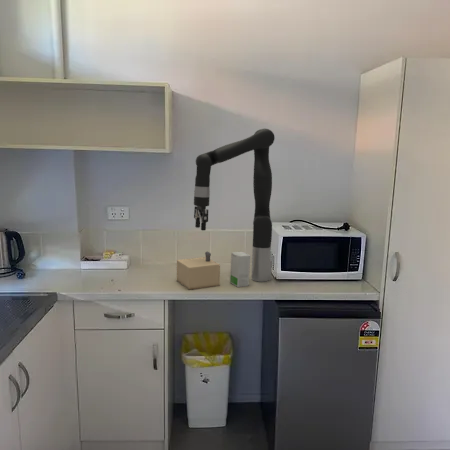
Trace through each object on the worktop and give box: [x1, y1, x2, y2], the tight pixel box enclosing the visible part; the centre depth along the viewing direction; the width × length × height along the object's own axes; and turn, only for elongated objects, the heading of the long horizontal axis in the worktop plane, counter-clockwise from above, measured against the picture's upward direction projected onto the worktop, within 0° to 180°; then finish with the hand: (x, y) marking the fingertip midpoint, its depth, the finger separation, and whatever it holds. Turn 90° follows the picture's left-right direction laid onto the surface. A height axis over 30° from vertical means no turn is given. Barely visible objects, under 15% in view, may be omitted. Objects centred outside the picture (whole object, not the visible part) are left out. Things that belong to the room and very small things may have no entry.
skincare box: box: [229, 250, 251, 288], centre depth 200 cm, size 8×7×16 cm
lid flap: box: [176, 251, 221, 269], centre depth 199 cm, size 16×16×5 cm
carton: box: [176, 261, 221, 291], centre depth 201 cm, size 16×16×10 cm
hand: (200, 228), depth 201 cm, fingers open, 8 cm apart
